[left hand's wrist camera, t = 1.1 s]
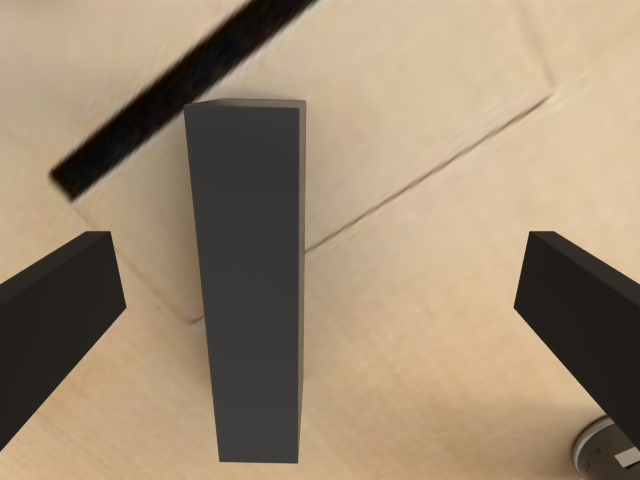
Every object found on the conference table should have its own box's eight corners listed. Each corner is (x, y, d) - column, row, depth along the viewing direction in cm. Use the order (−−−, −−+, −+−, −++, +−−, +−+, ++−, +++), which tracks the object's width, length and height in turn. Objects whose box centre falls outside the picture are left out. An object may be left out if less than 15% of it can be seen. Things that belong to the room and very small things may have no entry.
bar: (222, 98, 26) (182, 104, 18) (306, 100, 26) (299, 108, 18) (240, 381, 35) (219, 462, 27) (303, 382, 35) (298, 464, 27)
